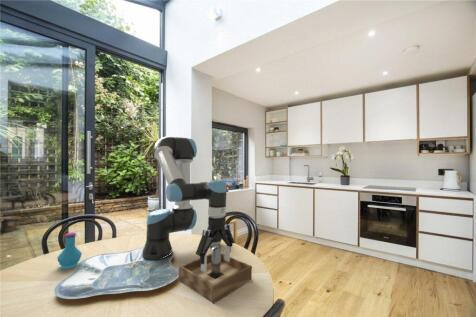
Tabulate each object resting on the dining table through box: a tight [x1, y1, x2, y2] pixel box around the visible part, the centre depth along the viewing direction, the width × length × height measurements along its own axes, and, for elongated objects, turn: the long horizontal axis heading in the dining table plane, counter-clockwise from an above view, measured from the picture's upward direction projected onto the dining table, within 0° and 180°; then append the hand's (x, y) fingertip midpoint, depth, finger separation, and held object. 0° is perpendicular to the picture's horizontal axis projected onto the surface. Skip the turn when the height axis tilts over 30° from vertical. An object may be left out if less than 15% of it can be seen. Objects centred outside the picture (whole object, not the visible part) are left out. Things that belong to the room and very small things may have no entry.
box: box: [178, 252, 253, 304], centre depth 94 cm, size 22×22×6 cm
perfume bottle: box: [57, 232, 83, 270], centre depth 104 cm, size 9×9×15 cm
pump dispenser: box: [206, 225, 223, 248], centre depth 134 cm, size 10×10×15 cm
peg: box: [211, 245, 222, 279], centre depth 94 cm, size 4×4×14 cm
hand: (215, 265), depth 94 cm, fingers open, 13 cm apart
